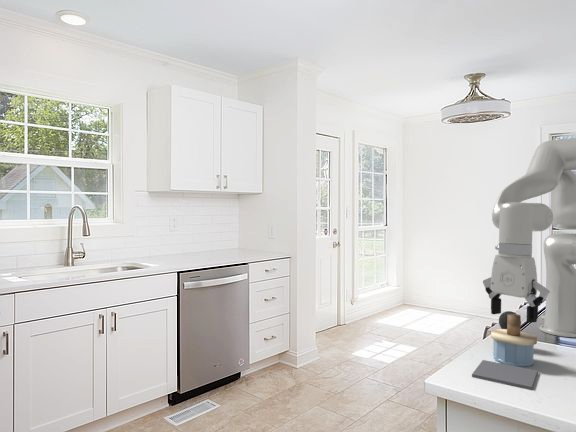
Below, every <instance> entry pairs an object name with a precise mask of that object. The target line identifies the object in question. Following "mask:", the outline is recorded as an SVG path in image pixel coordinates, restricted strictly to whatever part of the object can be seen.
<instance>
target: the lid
mask: <svg viewBox="0 0 576 432" xmlns="http://www.w3.org/2000/svg"><path fill="white" fill-rule="evenodd" d="M520 321H521V322H522V320H521V314H517V313H516V314H507V329H501V328H498V329H497V328H496V329H491V330H490V337H491V339H492V340H493V341H494V340H496V341H499V342H502V343H507V344H512V345H522V346H529V345H534V346H536V344H537V343H538V338H537V337H538V336H536V335H535V334H533V333H530V332H528V331H522V330H521V326H520Z"/></svg>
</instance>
